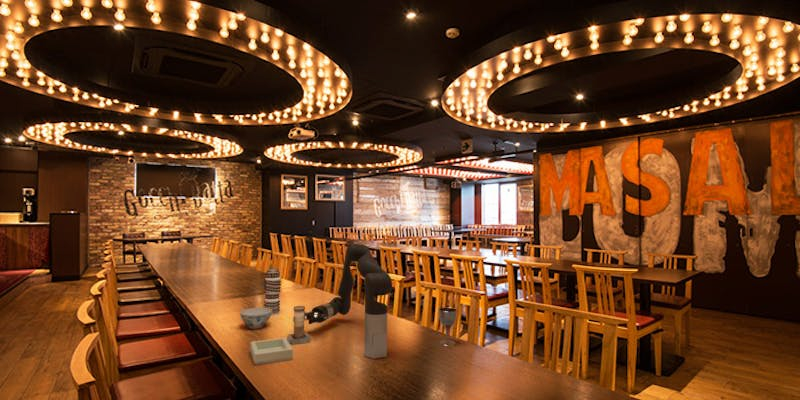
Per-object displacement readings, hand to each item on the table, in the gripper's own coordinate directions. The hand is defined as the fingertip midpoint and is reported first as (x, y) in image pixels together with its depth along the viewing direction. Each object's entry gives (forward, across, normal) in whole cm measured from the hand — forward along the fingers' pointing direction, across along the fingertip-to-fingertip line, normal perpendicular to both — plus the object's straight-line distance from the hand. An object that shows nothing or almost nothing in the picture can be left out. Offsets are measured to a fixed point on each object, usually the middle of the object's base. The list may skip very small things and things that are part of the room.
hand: (301, 320), depth 180 cm
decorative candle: (-29, -43, +8) cm, 53 cm away
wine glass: (-25, +61, +9) cm, 67 cm away
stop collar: (+2, 0, +8) cm, 9 cm away
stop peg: (+2, 0, +8) cm, 9 cm away
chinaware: (-6, -33, +9) cm, 34 cm away
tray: (+21, +2, +8) cm, 23 cm away
